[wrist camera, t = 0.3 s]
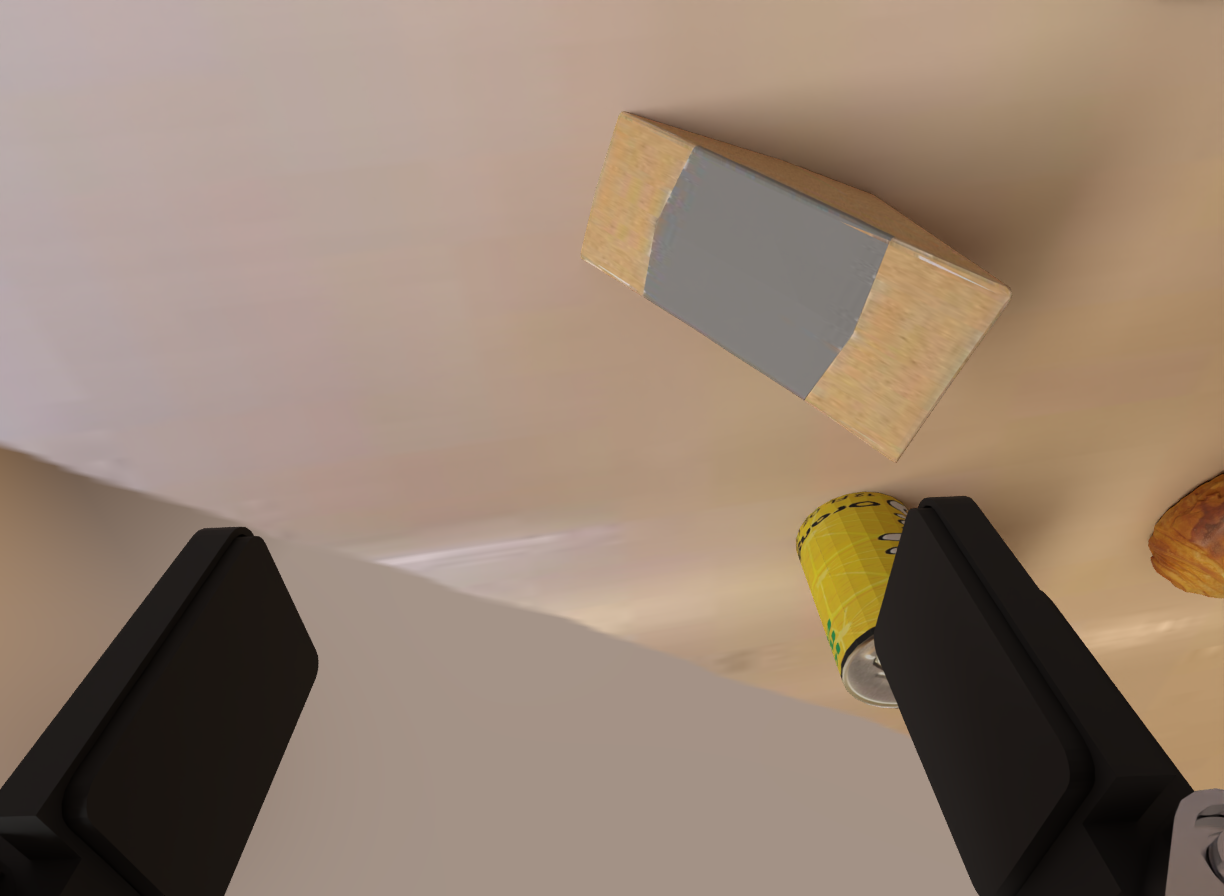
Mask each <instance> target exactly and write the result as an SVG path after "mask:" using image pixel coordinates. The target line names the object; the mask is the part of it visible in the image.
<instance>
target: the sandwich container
mask: <svg viewBox="0 0 1224 896" xmlns="http://www.w3.org/2000/svg"><path fill="white" fill-rule="evenodd" d="M581 258H582V259H583V260H585V261H586V262H588V263H589V264H591V265H593V266H594V267H596V268H598V269H599V270H601V271H603V272H604V273H606V274H607V275H609V276H611V277H612V278H614V279H615V280H617V281H619V282H620V283H622V284H623V285H625V286H627V287H628V288H630V289H632V290H633V291H635V292H636V293H638V294H640V295H641V296H643V297H644V298H646V299H648V300H649V301H651V302H652V303H654V304H655V305H657V306H659V307H660V308H662V309H663V310H665V311H667V312H668V313H670V314H671V315H673V316H675V317H676V318H678V319H679V320H681V321H682V322H684V323H686V324H687V325H689V326H690V327H692V328H694V329H695V330H697V331H698V332H700V333H701V334H703V335H704V336H706V337H707V338H709V339H710V340H712V341H713V342H715V343H716V344H718V345H719V346H721V347H722V348H724V349H725V350H727V351H728V352H730V353H731V354H733V355H734V356H736V357H738V358H739V359H741V360H742V361H744V362H745V363H747V364H749V365H750V366H752V367H753V368H755V369H756V370H758V371H760V372H761V373H763V374H764V375H766V376H767V377H769V378H770V379H772V380H773V381H775V382H777V383H778V384H780V385H781V386H783V387H784V388H786V389H787V390H789V391H790V392H792V393H793V394H795V395H796V396H798V397H800V398H801V399H803V400H805V401H806V402H807V403H809V404H810V405H812V406H813V407H815V408H816V409H818V410H819V411H821V412H822V413H824V414H825V415H827V416H828V417H829V418H831V419H832V420H834V421H835V422H837V423H838V424H840V425H841V426H842V427H844V428H845V429H847V430H848V431H850V432H851V433H852V434H854V435H855V436H857V437H858V438H860V439H861V440H862V441H864V442H865V443H867V444H868V445H870V446H871V447H873V448H874V449H875V450H877V451H878V452H880V453H881V454H883V455H884V456H885V457H887V458H888V459H890V460H891V461H893V462H895V463H897V461H898V460H899V458H900V457H901V455H902V454H903V452H904V451H905V450H906V448H907V447H908V445H909V444H910V442H911V441H912V439H913V438H914V437H915V435H916V434H917V432H918V431H919V429H920V428H921V426H922V425H923V424H924V422H925V421H926V419H927V418H928V416H929V415H930V413H931V412H932V411H933V409H934V408H935V406H936V405H937V403H938V402H939V400H940V399H941V398H942V396H943V395H944V393H945V392H946V390H947V389H948V387H949V386H950V385H951V383H952V382H953V380H954V379H955V377H956V376H957V375H958V373H959V372H960V370H961V369H962V368H963V366H964V365H965V363H966V362H967V361H968V359H969V358H970V356H971V355H972V354H973V352H974V351H975V349H976V348H977V347H978V345H979V344H980V342H981V341H982V340H983V338H984V337H985V335H986V334H987V333H988V331H989V330H990V328H991V327H992V326H993V324H994V323H995V321H996V320H997V319H998V317H999V316H1000V314H1001V313H1002V312H1003V310H1004V309H1005V307H1006V306H1007V305H1008V303H1009V302H1010V300H1011V299H1012V294H1011V289H1010V287H1008V286H1007V285H1005V284H1004V283H1002V282H1001V281H999V280H998V279H996V278H995V277H994V276H992V275H991V274H989V273H988V272H986V271H985V270H983V269H982V268H980V267H979V266H977V265H976V264H974V263H973V262H971V261H970V260H969V259H967V258H966V257H964V256H963V255H961V254H960V253H958V252H957V251H955V250H954V249H952V248H951V247H949V246H948V245H946V244H945V243H944V242H942V241H941V240H939V239H938V238H936V237H935V236H933V235H932V234H930V233H929V232H927V231H926V230H924V229H923V228H921V227H920V226H918V225H917V224H916V223H914V222H913V221H911V220H910V219H908V218H907V217H905V216H904V215H902V214H901V213H899V212H898V211H896V210H895V209H893V208H892V207H891V206H889V205H888V204H886V203H885V202H883V201H882V200H880V199H879V198H877V197H876V196H874V195H873V194H870V193H867V192H865V191H862V190H859V189H857V188H854V187H851V186H849V185H846V184H843V183H841V182H838V181H836V180H833V179H830V178H828V177H825V176H822V175H820V174H817V173H814V172H812V171H809V170H806V169H804V168H801V167H798V166H796V165H793V164H791V163H788V162H785V161H782V160H780V159H776V158H773V157H770V156H766V155H763V154H760V153H757V152H753V151H750V150H747V149H744V148H741V147H737V146H734V145H731V144H728V143H724V142H721V141H718V140H715V139H711V138H708V137H705V136H702V135H698V134H695V133H692V132H689V131H685V130H682V129H679V128H676V127H673V126H669V125H666V124H663V123H660V122H656V121H653V120H650V119H647V118H643V117H640V116H637V115H634V114H630V113H627V112H624V111H623V112H621V113H620V115H619V117H618V120H617V123H616V126H615V129H614V132H613V136H612V139H611V142H610V145H609V148H608V152H607V155H606V158H605V161H604V164H603V168H602V171H601V174H600V177H599V180H598V184H597V187H596V191H595V195H594V199H593V203H592V208H591V212H590V216H589V220H588V225H587V229H586V233H585V237H584V242H583V246H582V250H581Z"/></svg>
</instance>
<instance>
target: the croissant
mask: <svg viewBox="0 0 1224 896" xmlns="http://www.w3.org/2000/svg"><path fill="white" fill-rule="evenodd" d="M1148 542H1149V545H1148V546H1149V548H1150V550H1151V552H1152V554H1153V556H1152V557H1151V562H1152V564H1153V567H1154V569H1155V570H1156V572H1157V573H1159V574H1160V575H1162V576H1163V577H1164V578H1166V579H1168V580H1169V581H1171V583H1172V584H1173V585H1174V586H1175V587H1177V588H1179V589H1182V590H1183V591H1185V592H1191V593H1196V594H1202V595H1205V596H1208V597H1214V598H1224V473H1223V474H1222V475H1220V476H1217V477H1216V478H1214V479H1213V480H1211V481H1210V482H1207V483H1205V484H1203V485H1201V486H1200V487H1198V488H1197V489H1196V490H1194V491H1193V492H1192V493H1190V494H1189V495H1188V496H1186V497H1184V498H1183V499H1181V500H1180V502H1179V503H1177V504H1176V505H1175V506H1173V507H1172V508H1170V509H1169V510H1168V511H1167V512H1166V513H1165V514H1164V515H1163V516H1162V518H1161V519H1160V520H1159V522H1158V523H1157V524H1156V525H1155V527H1154V532H1153V535H1152V537H1151V538H1150V539H1149V541H1148Z"/></svg>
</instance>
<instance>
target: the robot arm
mask: <svg viewBox="0 0 1224 896" xmlns="http://www.w3.org/2000/svg"><path fill="white" fill-rule="evenodd" d="M874 646H875V650H876V654H877V657H878V659H879V662H880V664H881V666H882V669H883V671H884V674H885V676H886V678H887V681H888V683H889V686H890V688H891V690H892V693H893V695H894V698H895V700H896V702H897V705H898V707H899V709H900V712H901V714H902V717H903V719H904V721H905V724H906V726H907V729H908V731H909V733H910V736H911V738H912V741H913V743H914V745H915V748H916V750H917V753H918V755H919V757H920V760H921V762H922V764H923V767H924V769H925V771H926V774H927V776H928V779H929V781H930V783H931V786H932V788H933V791H934V793H935V795H936V798H937V800H938V803H939V805H940V808H941V810H942V812H943V815H944V817H945V820H946V822H947V824H948V827H949V829H950V831H951V834H952V836H953V839H954V841H955V843H956V846H957V848H958V850H959V853H960V855H961V858H962V860H963V863H964V865H965V867H966V870H967V872H968V874H969V877H970V879H971V881H972V884H973V886H974V888H975V890H976V891H977V893H978V894H979V896H1224V790H1222V789H1208V790H1200V791H1195V792H1194V790H1193V789H1192V788H1191V786H1190V785H1189V784H1188V782H1187V781H1186V780H1185V778H1184V777H1183V776H1182V774H1181V773H1180V772H1179V770H1178V769H1177V767H1176V766H1175V765H1174V763H1173V762H1172V761H1171V759H1170V758H1169V757H1168V755H1167V754H1166V753H1165V751H1164V750H1163V749H1162V747H1161V746H1160V745H1159V743H1158V742H1157V741H1156V739H1155V738H1154V737H1153V735H1152V734H1151V733H1150V731H1149V730H1148V729H1147V727H1146V726H1145V725H1144V723H1143V722H1142V721H1141V719H1140V718H1139V717H1138V715H1137V714H1136V713H1135V711H1134V710H1133V709H1132V707H1131V706H1130V705H1129V703H1128V702H1127V701H1126V699H1125V698H1124V696H1123V695H1122V694H1121V692H1120V691H1119V690H1118V688H1117V687H1116V686H1115V684H1114V683H1113V682H1112V680H1111V679H1110V678H1109V676H1108V675H1107V674H1106V672H1105V671H1104V670H1103V668H1102V667H1101V666H1100V664H1099V663H1098V662H1097V660H1096V659H1095V658H1094V656H1093V655H1092V654H1091V652H1090V651H1089V650H1088V648H1087V647H1086V646H1085V644H1084V643H1083V642H1082V640H1081V639H1080V638H1079V636H1078V635H1077V634H1076V632H1075V631H1074V630H1073V628H1072V627H1071V625H1070V624H1069V623H1068V621H1067V620H1066V619H1065V617H1064V616H1063V615H1062V613H1061V612H1060V611H1059V609H1058V608H1057V607H1056V605H1055V604H1054V603H1053V601H1052V600H1051V599H1050V598H1049V597H1048V596H1047V595H1046V594H1045V593H1044V592H1043V591H1041V590H1040V589H1039V588H1038V587H1037V585H1036V584H1035V583H1034V581H1033V580H1032V578H1031V577H1030V576H1029V574H1028V573H1027V572H1026V570H1025V569H1024V568H1023V566H1022V565H1021V564H1020V562H1019V561H1018V560H1017V558H1016V557H1015V556H1014V554H1013V553H1012V551H1011V550H1010V549H1009V547H1008V546H1007V545H1006V543H1005V542H1004V541H1003V539H1002V538H1001V537H1000V535H999V534H998V533H997V531H996V530H995V528H994V527H993V526H992V524H991V523H990V522H989V520H988V519H987V518H986V516H985V515H984V514H983V512H982V511H981V510H980V508H979V507H978V505H977V504H976V503H975V502H974V501H973V500H972V499H971V498H969V497H967V496H954V497H930V498H924V499H923V500H922V501H921V502H920V504H919V506H918V508H913V509H910V510H909V511H908V513H907V516H906V519H905V523H904V526H903V530H902V533H901V537H900V540H899V544H898V548H897V551H896V555H895V558H894V562H893V565H892V569H891V573H890V576H889V580H888V583H887V587H886V590H885V594H884V598H883V601H882V605H881V608H880V612H879V615H878V619H877V623H876V626H875V630H874ZM317 671H318V655H317V652H316V649H315V647H314V645H313V643H312V641H311V639H310V637H309V635H308V633H307V631H306V628H305V626H304V624H303V622H302V620H301V618H300V616H299V613H298V611H297V609H296V607H295V605H294V603H293V601H292V599H291V596H290V594H289V592H288V590H287V588H286V586H285V584H284V582H283V580H282V578H281V575H280V573H279V571H278V569H277V567H276V565H275V563H274V560H273V558H272V556H271V554H270V552H269V550H268V548H267V546H266V544H265V542H264V540H263V539H262V538H261V537H259V536H254V535H253V533H252V532H251V531H250V530H249V529H248V528H246V527H225V528H204V529H201V530H199V531H198V532H196V533H195V534H194V535H193V537H192V538H191V539H190V540H189V542H188V543H187V545H186V546H185V547H184V548H183V550H182V551H181V552H180V554H179V555H178V556H177V558H176V559H175V560H174V561H173V563H172V564H171V565H170V567H169V568H168V569H167V571H166V572H165V573H164V575H163V576H162V577H161V579H160V580H159V581H158V583H157V584H156V585H155V587H154V588H153V589H152V591H151V592H150V593H149V595H148V596H147V597H146V598H145V600H144V601H143V602H142V604H141V605H140V606H139V608H138V609H137V610H136V612H135V613H134V614H133V615H132V617H131V618H130V619H129V621H128V622H127V623H126V625H125V626H124V627H123V629H122V630H121V631H120V633H119V634H118V635H117V637H116V638H115V639H114V640H113V642H112V643H111V644H110V646H109V647H108V648H107V650H106V651H105V652H104V654H103V655H102V656H101V657H100V659H99V660H98V661H97V663H96V664H95V665H94V667H93V668H92V669H91V671H90V672H89V673H88V675H87V676H86V677H85V679H84V680H83V681H82V682H81V684H80V685H79V686H78V688H77V689H76V690H75V692H74V693H73V694H72V696H71V697H70V698H69V700H68V701H67V702H66V704H65V705H64V706H63V707H62V709H61V710H60V711H59V713H58V714H57V716H56V717H55V718H54V719H53V721H52V722H51V723H50V725H49V726H48V727H47V729H46V730H45V731H44V732H43V734H42V735H41V736H40V738H39V739H38V740H37V742H36V743H35V744H34V746H33V747H32V748H31V750H30V751H29V752H28V754H27V755H26V756H25V757H24V759H23V760H22V761H21V763H20V764H19V765H18V767H17V768H16V769H15V771H14V772H13V773H12V775H11V776H10V777H9V778H8V780H7V781H6V782H5V784H4V785H3V786H2V788H1V789H0V896H224V895H225V892H226V890H227V888H228V885H229V883H230V881H231V878H232V876H233V873H234V871H235V869H236V866H237V864H238V861H239V859H240V857H241V854H242V852H243V850H244V847H245V845H246V843H247V840H248V838H249V835H250V833H251V831H252V828H253V826H254V823H255V821H256V819H257V816H258V814H259V812H260V809H261V807H262V804H263V802H264V800H265V797H266V795H267V793H268V790H269V788H270V785H271V783H272V781H273V778H274V776H275V774H276V771H277V769H278V767H279V764H280V762H281V759H282V757H283V755H284V752H285V750H286V748H287V745H288V743H289V740H290V738H291V736H292V733H293V731H294V729H295V726H296V724H297V721H298V719H299V717H300V714H301V712H302V710H303V707H304V705H305V702H306V700H307V698H308V695H309V693H310V691H311V688H312V686H313V683H314V681H315V679H316V675H317Z"/></svg>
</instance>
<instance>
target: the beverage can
mask: <svg viewBox="0 0 1224 896" xmlns="http://www.w3.org/2000/svg"><path fill="white" fill-rule="evenodd" d="M907 513H908V510H907V508H906V507H905V506H904V504H903V503H901V502H900V501H898V500H897V499H895V498H893V497H891V496H888V495H885V494H881V493H875V492H859V493H852V494H847V495H844V496H841V497H838V498H835V499H832V500H830V501H829V502H827V503H825V504H823V505H822V506H820V507H818V508H817V509H816V510H815V511H814V512H813V513H811V514H810V515H809V516H808V517H807V518H806V520H805V521H804V523H803V524H802V526H801V527H800V529H799V532H798V535H797V538H796V551H797V553H798V556H799V559H800V562H801V565H802V568H803V570H804V573H805V576H806V579H807V582H808V585H809V587H810V590H811V593H812V596H813V599H814V602H815V604H816V607H817V610H818V613H819V616H820V619H821V621H822V624H823V627H824V630H825V633H826V636H827V638H828V641H829V644H830V647H831V650H832V653H833V655H834V658H835V661H836V664H837V667H838V670H839V672H840V675H841V678H842V681H843V683H844V685H845V688H846V690H847V691H848V692H849V693H850V694H851V695H852V696H853V697H854V698H855V699H858V700H860V701H862V702H864V703H866V704H868V705H873V706H877V707H882V708H899V707H898V705H897V702H896V700H895V698H894V695H893V693H892V690H891V688H890V686H889V683H888V681H887V678H886V676H885V674H884V671H883V669H882V666H881V664H880V662H879V659H878V657H877V654H876V650H875V646H874V630H875V626H876V623H877V619H878V615H879V612H880V608H881V605H882V601H883V598H884V594H885V590H886V587H887V583H888V580H889V576H890V573H891V569H892V565H893V562H894V558H895V555H896V551H897V548H898V544H899V540H900V537H901V533H902V530H903V526H904V523H905V519H906V516H907Z"/></svg>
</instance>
